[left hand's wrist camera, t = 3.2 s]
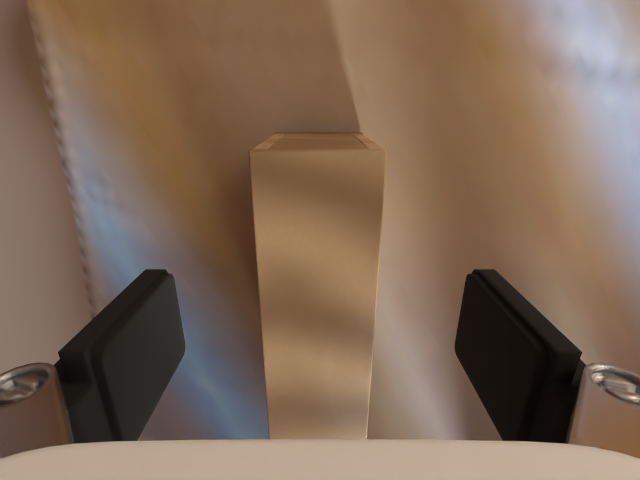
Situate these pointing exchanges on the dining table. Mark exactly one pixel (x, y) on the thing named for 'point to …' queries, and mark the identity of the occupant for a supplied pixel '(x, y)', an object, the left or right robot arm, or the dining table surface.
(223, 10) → the dining table surface
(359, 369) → the wooden crate box
